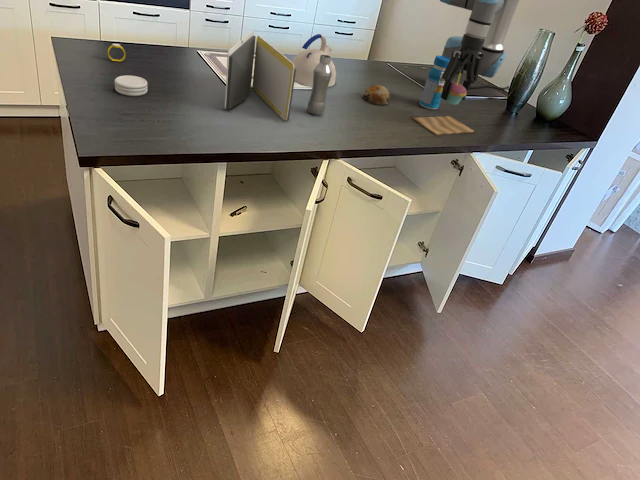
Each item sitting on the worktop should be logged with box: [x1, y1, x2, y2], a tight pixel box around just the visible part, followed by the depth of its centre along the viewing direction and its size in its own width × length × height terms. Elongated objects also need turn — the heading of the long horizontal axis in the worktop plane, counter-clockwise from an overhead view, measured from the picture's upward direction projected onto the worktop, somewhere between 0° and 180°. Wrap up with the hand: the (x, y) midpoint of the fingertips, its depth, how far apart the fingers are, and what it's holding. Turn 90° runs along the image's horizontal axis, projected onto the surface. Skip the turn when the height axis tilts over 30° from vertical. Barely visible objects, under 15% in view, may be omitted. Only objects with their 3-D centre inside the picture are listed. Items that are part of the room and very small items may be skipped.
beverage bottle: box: [419, 55, 450, 111], centre depth 194 cm, size 8×8×20 cm
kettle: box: [291, 33, 337, 88], centre depth 196 cm, size 20×21×18 cm
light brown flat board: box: [412, 115, 475, 136], centre depth 184 cm, size 20×14×1 cm
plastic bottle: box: [307, 55, 332, 116], centre depth 165 cm, size 6×7×20 cm
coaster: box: [114, 74, 149, 97], centre depth 155 cm, size 10×10×4 cm
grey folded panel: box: [224, 30, 296, 122], centre depth 161 cm, size 35×22×20 cm, turn 30°
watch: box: [107, 43, 127, 63], centre depth 174 cm, size 6×3×6 cm, turn 114°
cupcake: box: [444, 71, 468, 106], centre depth 175 cm, size 9×8×12 cm
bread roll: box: [363, 84, 390, 106], centre depth 192 cm, size 10×10×8 cm
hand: (452, 98), depth 178 cm, fingers closed on cupcake, 8 cm apart
